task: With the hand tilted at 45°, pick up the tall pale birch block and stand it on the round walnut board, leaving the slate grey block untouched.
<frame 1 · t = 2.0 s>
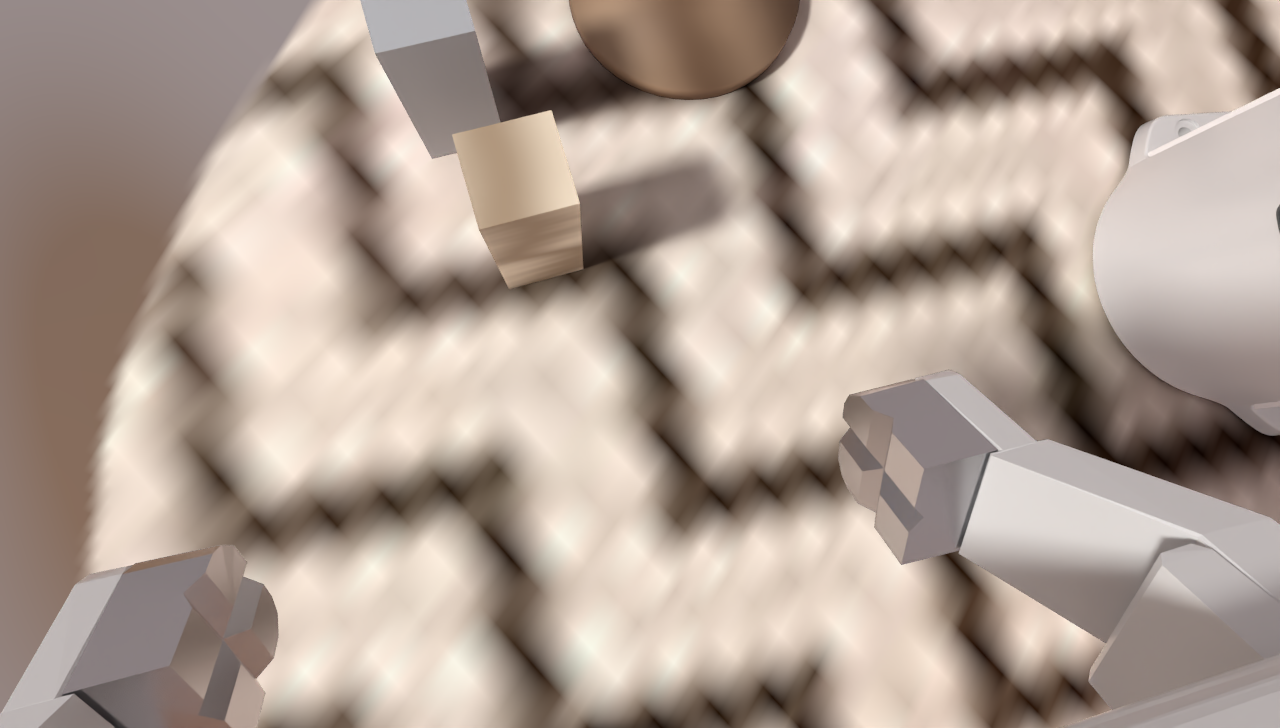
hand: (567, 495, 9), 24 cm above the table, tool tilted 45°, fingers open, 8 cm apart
birch block: (536, 243, 34), on the table
slate grey block: (459, 115, 34), on the table
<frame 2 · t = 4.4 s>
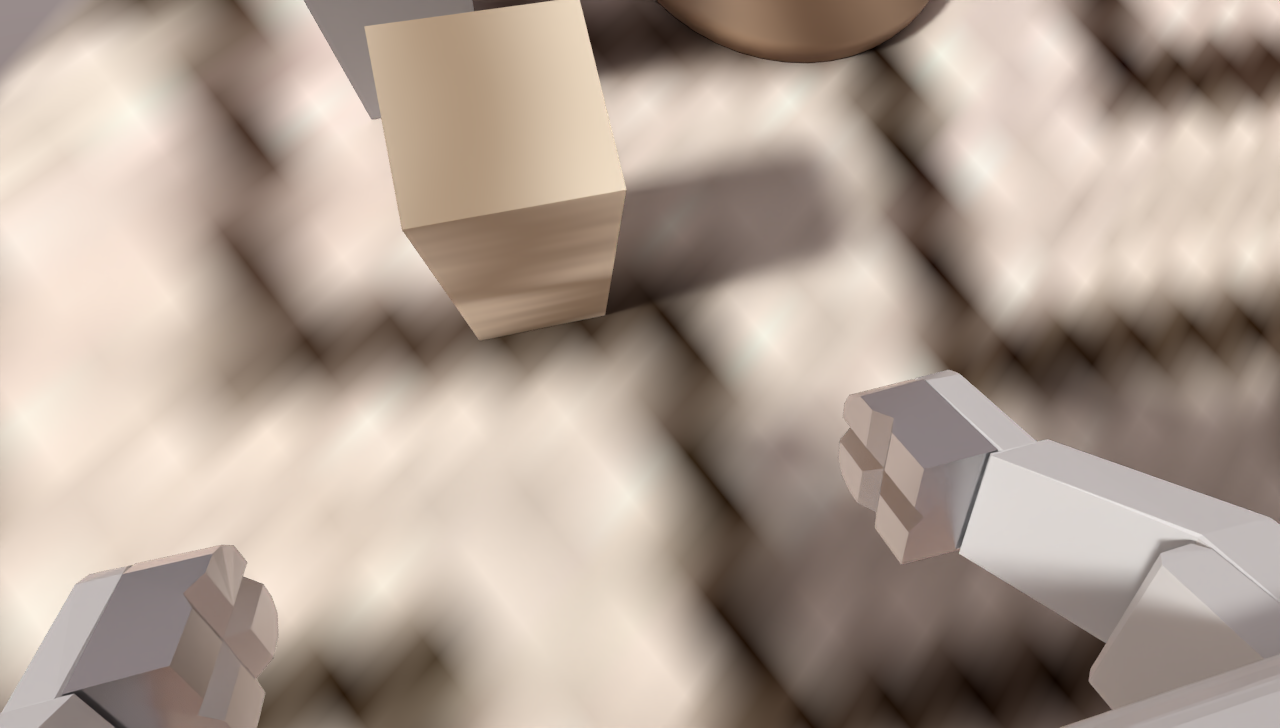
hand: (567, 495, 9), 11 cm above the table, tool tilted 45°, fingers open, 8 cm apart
birch block: (530, 268, 20), on the table
slate grey block: (422, 56, 21), on the table
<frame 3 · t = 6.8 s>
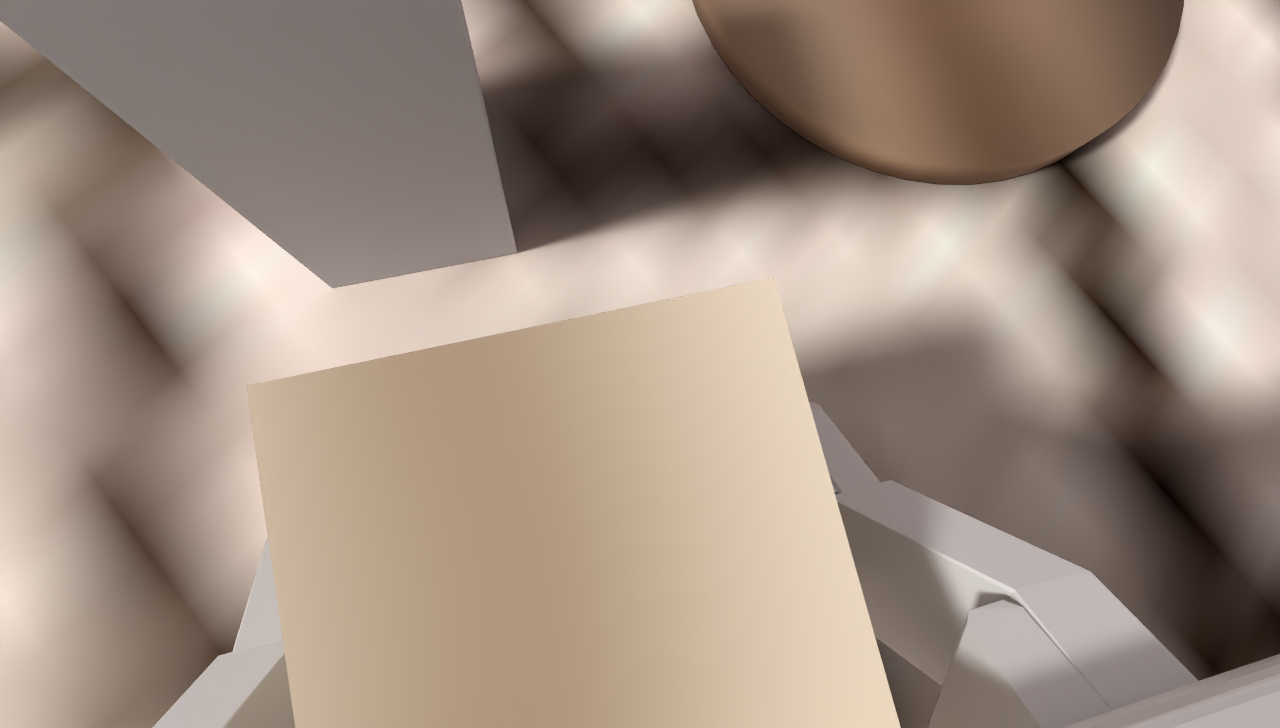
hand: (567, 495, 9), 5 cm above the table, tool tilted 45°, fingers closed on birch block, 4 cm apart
birch block: (575, 520, 13), on the table, touching gripper
slate grey block: (410, 186, 14), on the table
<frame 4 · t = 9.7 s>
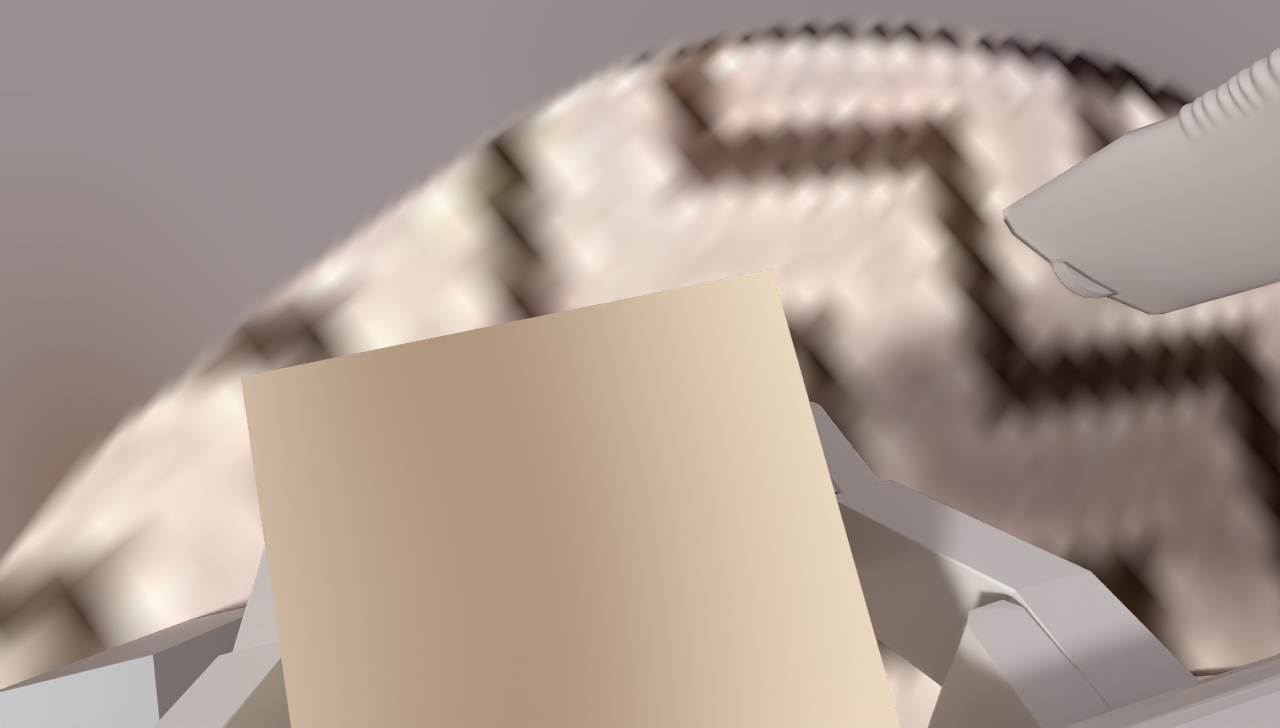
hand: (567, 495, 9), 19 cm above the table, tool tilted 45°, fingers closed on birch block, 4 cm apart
birch block: (574, 517, 13), point 14 cm above the table, touching gripper
slate grey block: (249, 659, 25), on the table
tall pale column: (1084, 260, 32), on the table
when the fingers open (7 cm above the table, at t = 12.5 s): birch block drops 1 cm, resting on walnut board.
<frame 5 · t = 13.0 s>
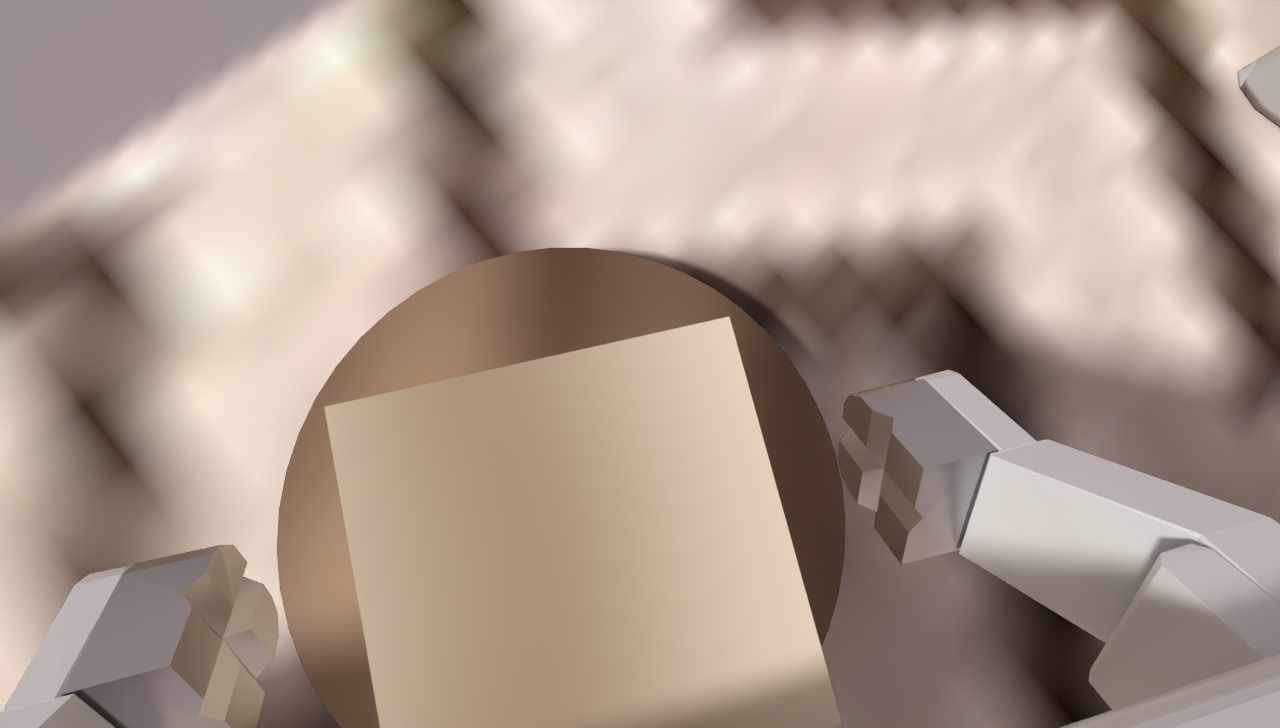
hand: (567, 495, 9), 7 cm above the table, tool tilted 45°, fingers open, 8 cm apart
birch block: (576, 514, 15), point 1 cm above the table, touching walnut board
walnut board: (574, 512, 16), on the table
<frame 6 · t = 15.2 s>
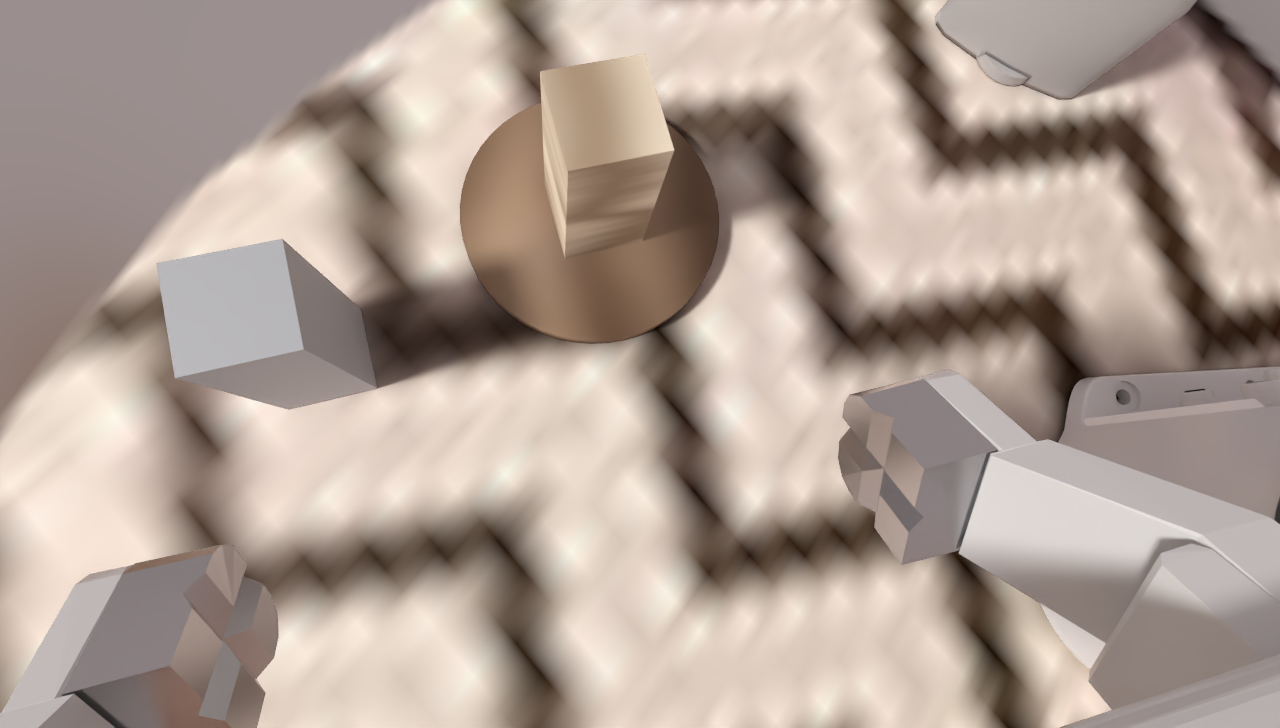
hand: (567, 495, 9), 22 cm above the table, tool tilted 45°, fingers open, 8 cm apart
birch block: (593, 212, 32), point 1 cm above the table, touching walnut board
slate grey block: (325, 358, 30), on the table
tall pale column: (1003, 57, 39), on the table
walnut board: (591, 221, 33), on the table
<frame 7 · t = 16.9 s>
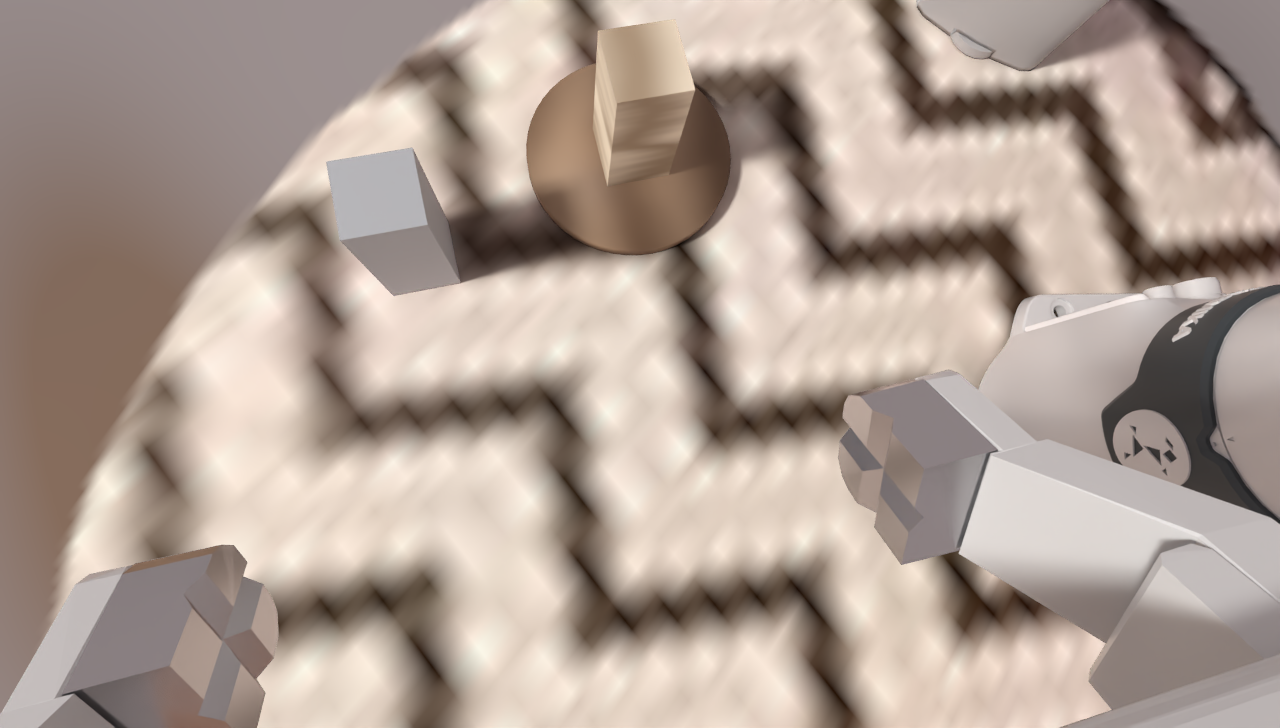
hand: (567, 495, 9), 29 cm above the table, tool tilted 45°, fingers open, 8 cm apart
birch block: (630, 151, 40), point 1 cm above the table, touching walnut board
slate grey block: (421, 258, 39), on the table
tall pale column: (974, 35, 46), on the table
walnut board: (628, 159, 41), on the table
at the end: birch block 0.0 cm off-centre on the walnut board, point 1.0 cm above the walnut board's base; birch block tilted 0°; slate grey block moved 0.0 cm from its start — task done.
